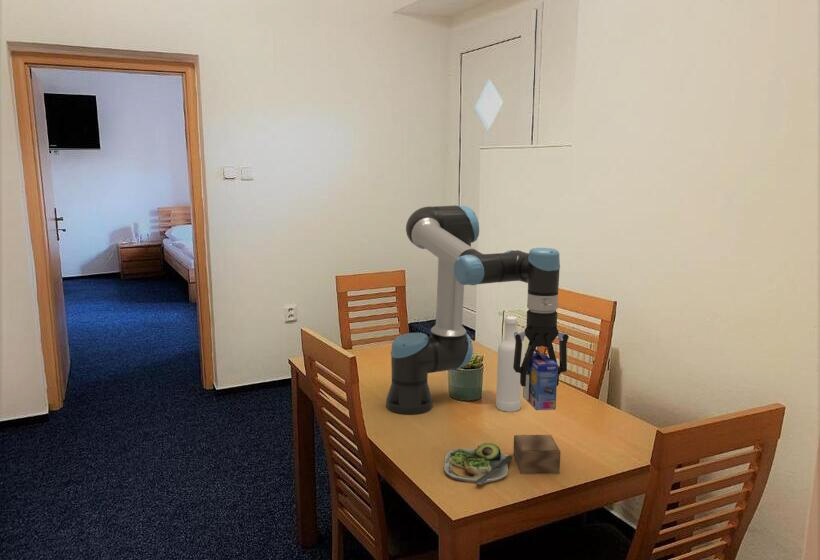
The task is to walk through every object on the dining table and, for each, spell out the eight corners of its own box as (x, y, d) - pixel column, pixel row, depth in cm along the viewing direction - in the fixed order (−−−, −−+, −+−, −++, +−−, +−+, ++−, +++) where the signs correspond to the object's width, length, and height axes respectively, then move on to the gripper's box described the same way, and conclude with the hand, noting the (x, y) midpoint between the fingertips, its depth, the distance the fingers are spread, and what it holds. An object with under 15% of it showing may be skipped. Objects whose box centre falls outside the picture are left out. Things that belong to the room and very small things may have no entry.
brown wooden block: (520, 473, 164) (521, 450, 163) (513, 456, 174) (514, 434, 173) (559, 473, 164) (560, 450, 163) (550, 455, 174) (551, 434, 173)
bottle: (525, 410, 206) (528, 319, 200) (502, 413, 203) (505, 321, 198) (513, 401, 213) (516, 313, 208) (492, 404, 211) (494, 315, 205)
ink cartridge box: (520, 397, 170) (524, 344, 167) (540, 396, 171) (544, 343, 168) (535, 411, 160) (539, 355, 158) (556, 410, 161) (560, 354, 159)
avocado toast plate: (512, 493, 155) (512, 475, 154) (438, 487, 158) (439, 469, 157) (513, 457, 174) (513, 441, 173) (447, 452, 177) (447, 436, 176)
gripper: (507, 313, 157) (504, 403, 162) (583, 313, 158) (579, 402, 162) (502, 306, 165) (499, 392, 169) (575, 306, 165) (571, 392, 170)
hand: (538, 397), depth 166 cm, fingers closed on ink cartridge box, 6 cm apart
